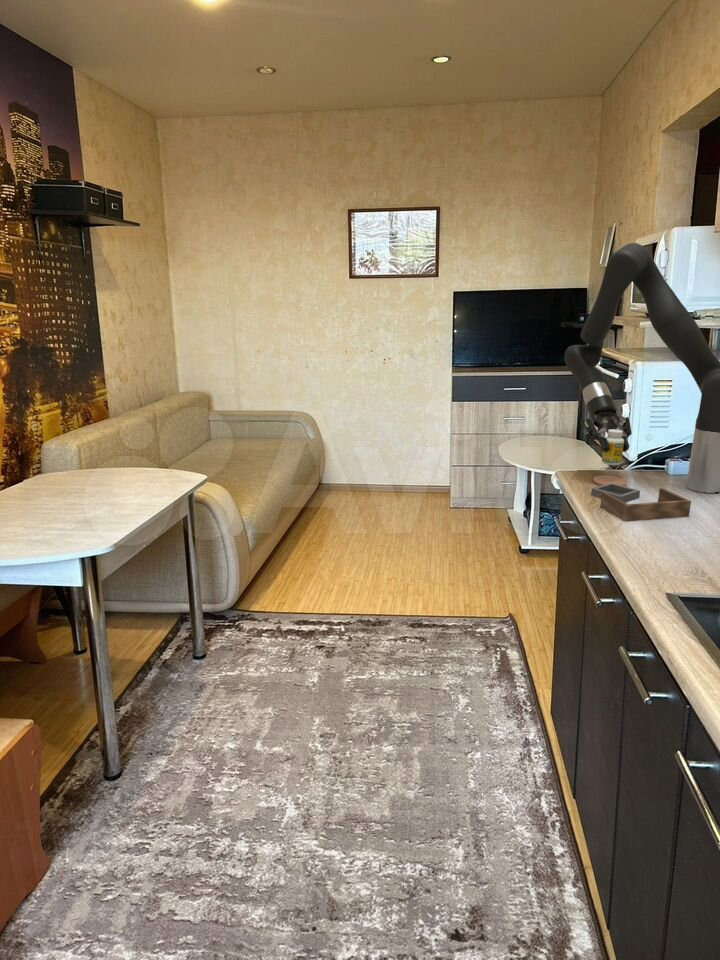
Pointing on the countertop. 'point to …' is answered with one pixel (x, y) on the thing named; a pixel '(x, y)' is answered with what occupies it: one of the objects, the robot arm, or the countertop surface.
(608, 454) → the supplement bottle
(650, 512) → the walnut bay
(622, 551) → the countertop surface
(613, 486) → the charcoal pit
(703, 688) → the countertop surface
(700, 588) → the countertop surface
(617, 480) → the tan round disc
